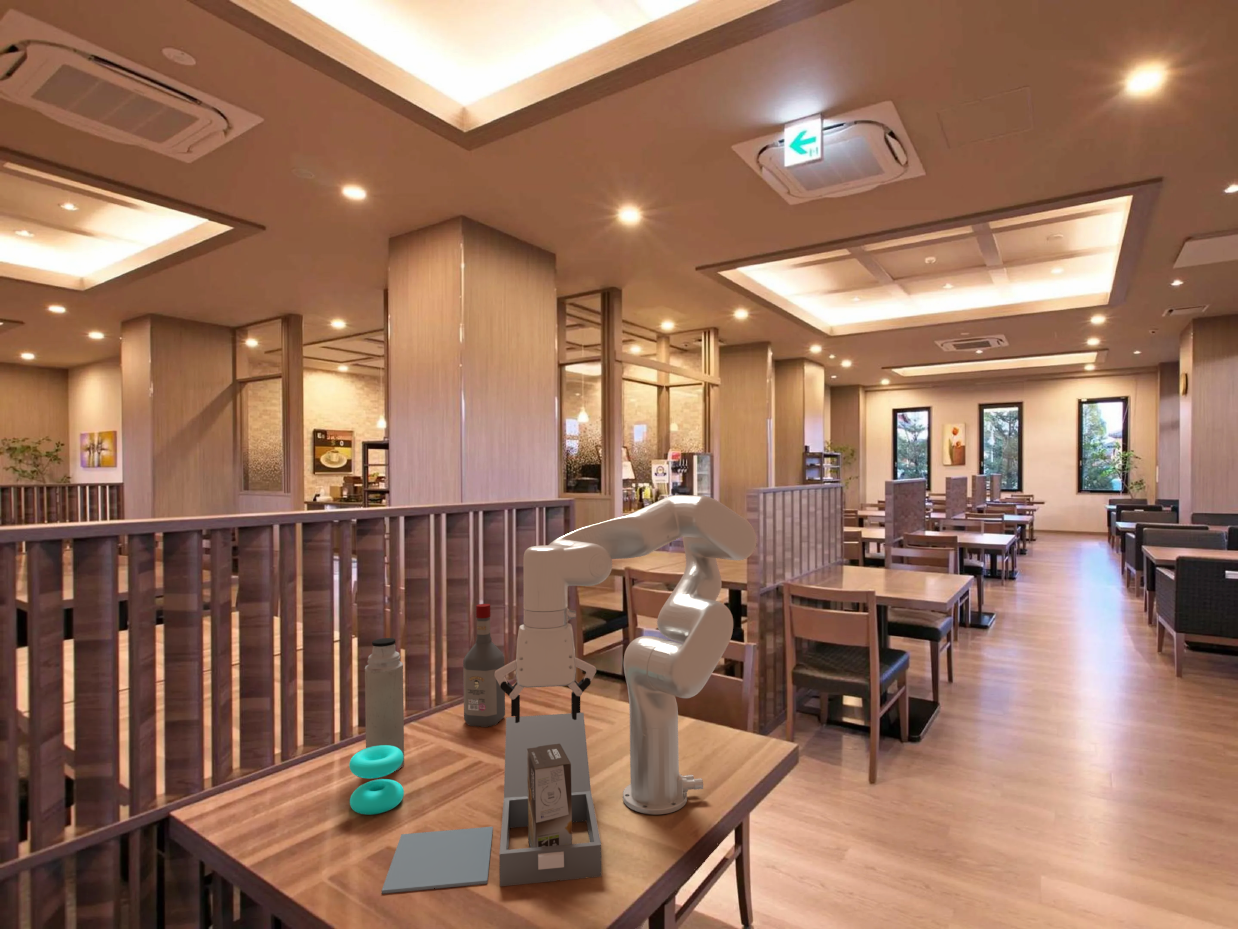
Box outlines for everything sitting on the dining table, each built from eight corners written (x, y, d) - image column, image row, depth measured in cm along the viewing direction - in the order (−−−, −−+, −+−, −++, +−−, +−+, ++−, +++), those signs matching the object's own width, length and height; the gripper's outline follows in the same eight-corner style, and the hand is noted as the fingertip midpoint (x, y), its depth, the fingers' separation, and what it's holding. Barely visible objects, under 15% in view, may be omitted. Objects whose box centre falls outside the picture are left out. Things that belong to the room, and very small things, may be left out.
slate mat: (492, 829, 120) (492, 826, 120) (487, 883, 105) (487, 880, 105) (401, 837, 118) (401, 834, 118) (381, 893, 102) (381, 890, 102)
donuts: (337, 761, 127) (370, 740, 136) (338, 814, 127) (371, 789, 136) (383, 767, 124) (413, 745, 134) (383, 820, 124) (414, 795, 134)
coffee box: (574, 860, 110) (572, 763, 111) (535, 868, 108) (534, 769, 109) (562, 832, 119) (560, 742, 119) (526, 838, 117) (525, 747, 117)
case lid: (590, 791, 124) (590, 794, 124) (583, 712, 139) (583, 715, 140) (503, 798, 122) (504, 801, 122) (506, 717, 137) (506, 720, 138)
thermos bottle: (373, 759, 151) (371, 635, 151) (408, 758, 151) (407, 634, 151) (360, 775, 143) (359, 644, 143) (398, 774, 143) (396, 644, 143)
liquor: (493, 728, 168) (492, 609, 168) (460, 725, 170) (459, 608, 170) (508, 715, 177) (506, 602, 177) (476, 713, 179) (474, 601, 179)
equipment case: (591, 818, 124) (590, 791, 124) (602, 879, 105) (601, 847, 105) (504, 825, 122) (503, 798, 122) (499, 889, 103) (499, 857, 103)
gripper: (593, 612, 119) (594, 708, 119) (495, 615, 117) (495, 713, 116) (598, 621, 111) (598, 724, 111) (493, 625, 109) (493, 729, 109)
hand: (545, 718), depth 114 cm, fingers open, 9 cm apart
